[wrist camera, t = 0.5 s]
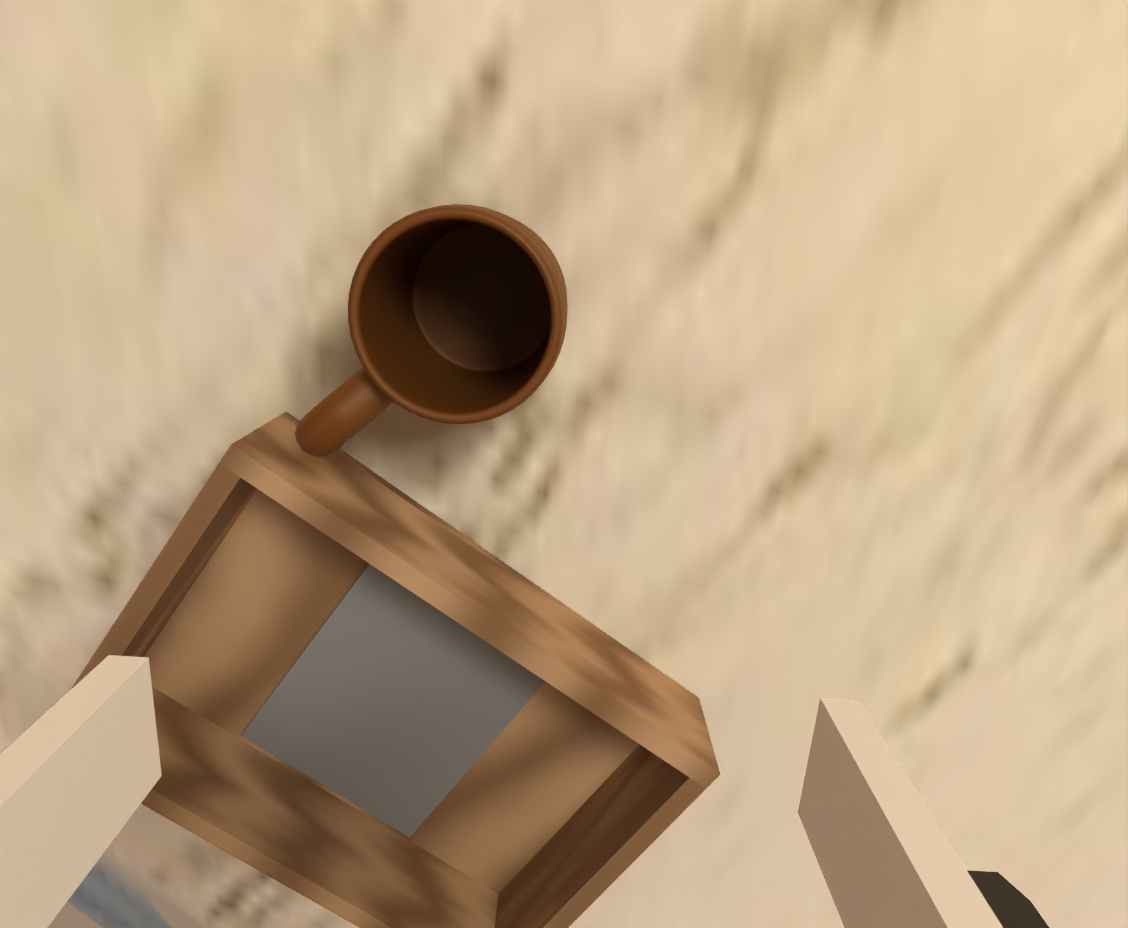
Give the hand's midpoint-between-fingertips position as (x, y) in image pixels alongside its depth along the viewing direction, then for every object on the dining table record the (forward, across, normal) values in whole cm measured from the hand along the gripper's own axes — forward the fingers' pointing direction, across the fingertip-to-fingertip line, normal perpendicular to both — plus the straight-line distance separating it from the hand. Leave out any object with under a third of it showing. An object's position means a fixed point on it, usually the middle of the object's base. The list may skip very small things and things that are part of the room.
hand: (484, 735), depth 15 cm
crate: (+22, -6, -14) cm, 27 cm away
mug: (+23, -4, +5) cm, 24 cm away
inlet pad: (+22, -6, -14) cm, 27 cm away
